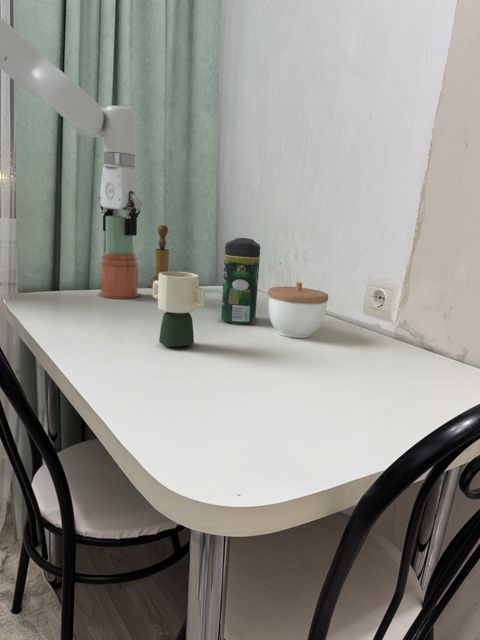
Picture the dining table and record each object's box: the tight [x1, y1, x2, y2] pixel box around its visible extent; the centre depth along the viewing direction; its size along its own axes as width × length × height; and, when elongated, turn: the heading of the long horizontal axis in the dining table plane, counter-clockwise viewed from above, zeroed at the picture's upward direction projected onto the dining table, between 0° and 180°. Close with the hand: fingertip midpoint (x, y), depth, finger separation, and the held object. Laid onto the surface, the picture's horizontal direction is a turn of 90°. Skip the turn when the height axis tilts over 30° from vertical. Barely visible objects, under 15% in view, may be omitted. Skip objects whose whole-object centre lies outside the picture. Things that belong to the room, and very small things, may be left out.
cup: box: [105, 215, 135, 255], centre depth 129 cm, size 7×7×9 cm
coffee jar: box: [220, 237, 262, 325], centre depth 113 cm, size 10×8×19 cm
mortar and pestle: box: [149, 224, 170, 289], centre depth 147 cm, size 7×6×18 cm
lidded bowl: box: [267, 281, 329, 339], centre depth 107 cm, size 13×13×11 cm
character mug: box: [152, 271, 206, 348], centre depth 90 cm, size 11×7×13 cm, turn 64°
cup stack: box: [99, 250, 139, 300], centre depth 131 cm, size 10×10×11 cm
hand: (119, 233), depth 128 cm, fingers open, 9 cm apart
